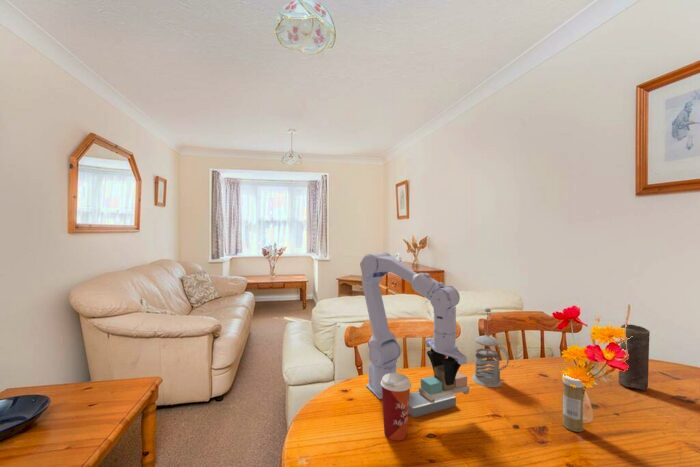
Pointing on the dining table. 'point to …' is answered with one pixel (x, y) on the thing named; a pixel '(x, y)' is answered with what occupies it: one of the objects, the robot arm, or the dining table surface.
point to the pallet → (447, 393)
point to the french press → (488, 361)
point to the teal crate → (431, 385)
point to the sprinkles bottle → (572, 404)
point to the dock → (428, 404)
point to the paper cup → (395, 405)
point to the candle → (636, 358)
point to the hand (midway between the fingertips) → (444, 380)
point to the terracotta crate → (460, 380)
